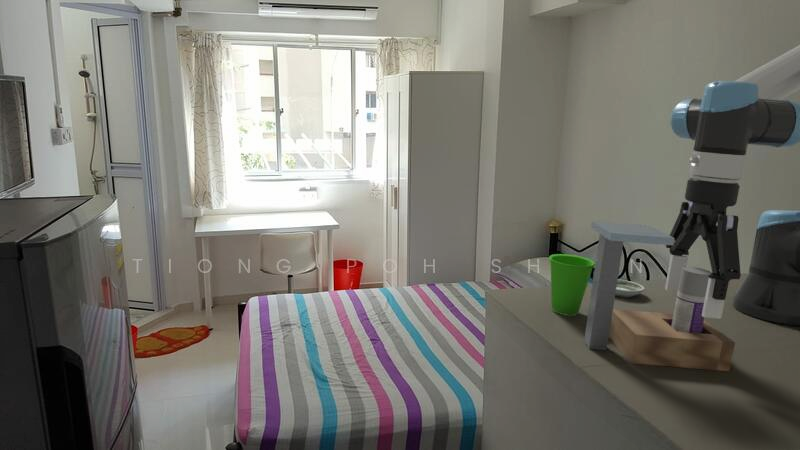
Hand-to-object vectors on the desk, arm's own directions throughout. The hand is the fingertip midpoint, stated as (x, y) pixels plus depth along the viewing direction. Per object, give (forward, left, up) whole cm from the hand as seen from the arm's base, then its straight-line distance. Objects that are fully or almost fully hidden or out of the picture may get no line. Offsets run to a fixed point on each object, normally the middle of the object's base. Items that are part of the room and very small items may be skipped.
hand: (690, 303), depth 94 cm
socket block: (+3, 0, -9) cm, 10 cm away
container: (0, 0, -9) cm, 9 cm away
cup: (+16, -17, -9) cm, 25 cm away
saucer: (-1, -33, -10) cm, 34 cm away
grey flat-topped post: (+12, 0, -9) cm, 15 cm away
